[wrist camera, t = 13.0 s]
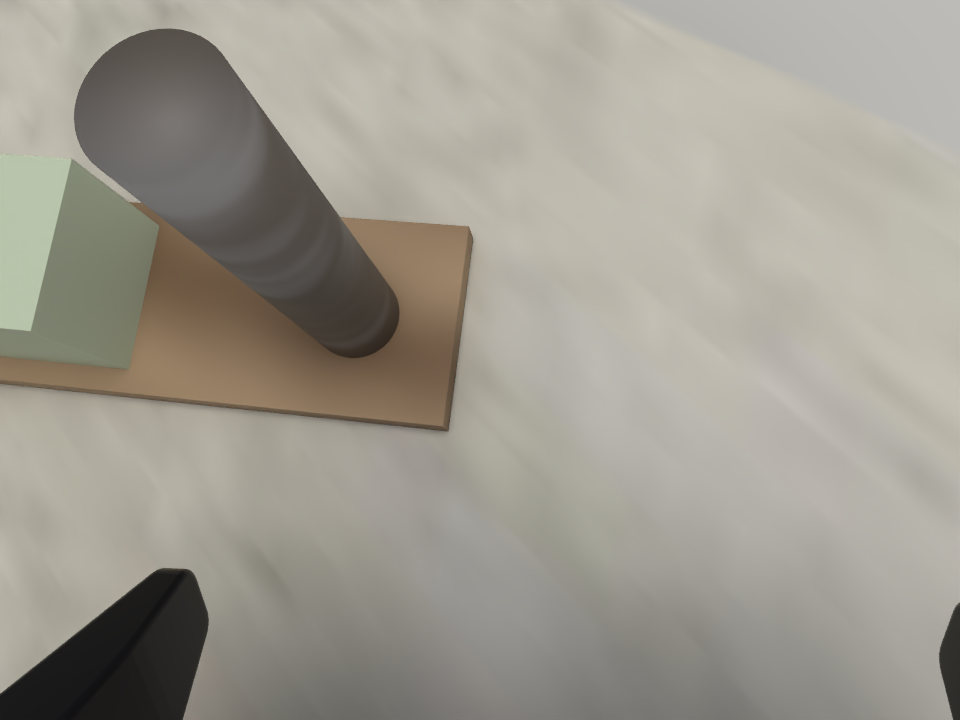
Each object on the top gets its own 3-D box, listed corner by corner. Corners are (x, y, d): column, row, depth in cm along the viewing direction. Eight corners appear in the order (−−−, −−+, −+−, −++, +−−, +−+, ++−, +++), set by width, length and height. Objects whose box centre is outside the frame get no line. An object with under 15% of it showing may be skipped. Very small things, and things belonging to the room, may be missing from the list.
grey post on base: (448, 431, 24) (309, 307, 12) (-42, 378, 26) (-604, 227, 14) (472, 238, 26) (371, -62, 13) (2, 203, 28) (-477, -81, 15)
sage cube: (129, 369, 25) (30, 331, 20) (-11, 355, 25) (-135, 315, 21) (159, 225, 26) (71, 158, 21) (24, 215, 26) (-88, 148, 22)
